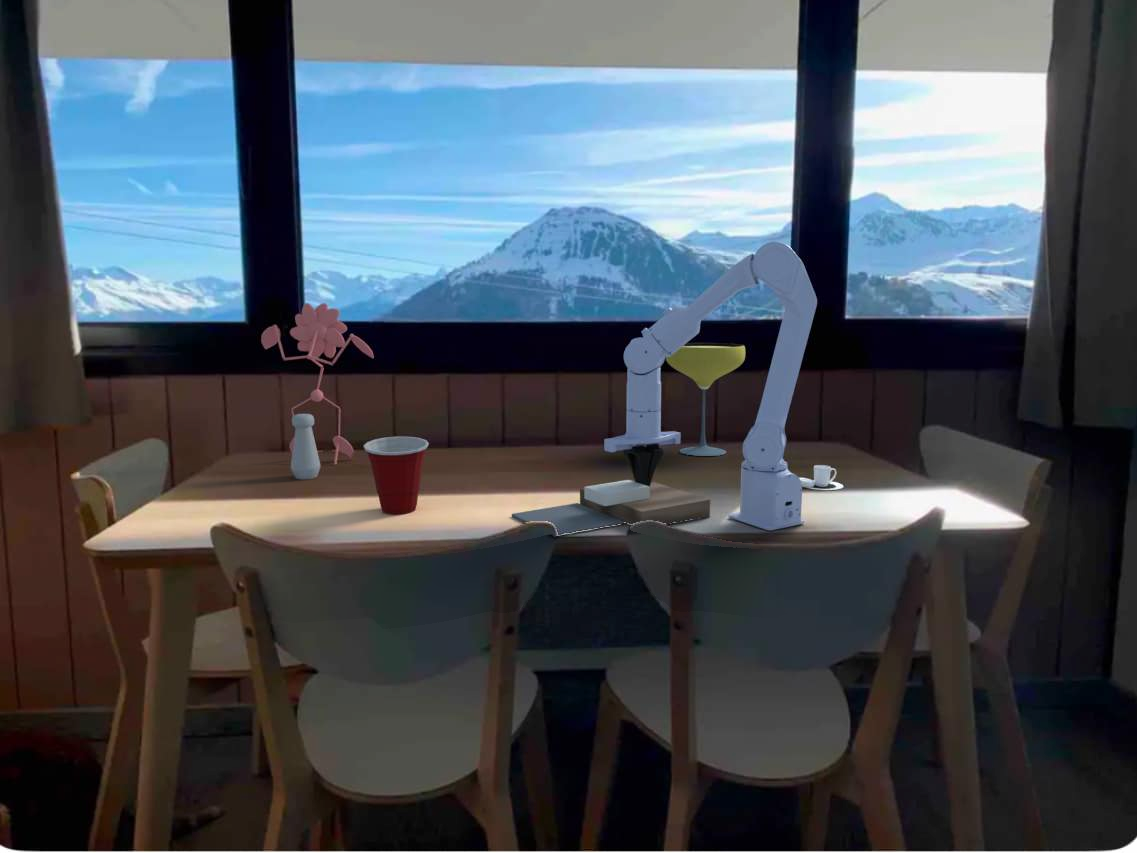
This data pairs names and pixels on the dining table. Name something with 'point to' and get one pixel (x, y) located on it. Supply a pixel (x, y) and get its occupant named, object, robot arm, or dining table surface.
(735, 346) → the cocktail glass
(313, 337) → the figurine
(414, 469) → the plastic cup
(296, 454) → the salt shaker
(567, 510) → the mat
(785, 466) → the robot arm
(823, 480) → the teacup and saucer
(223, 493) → the dining table surface
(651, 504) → the deck
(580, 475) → the dining table surface
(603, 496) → the pale grey flat block
